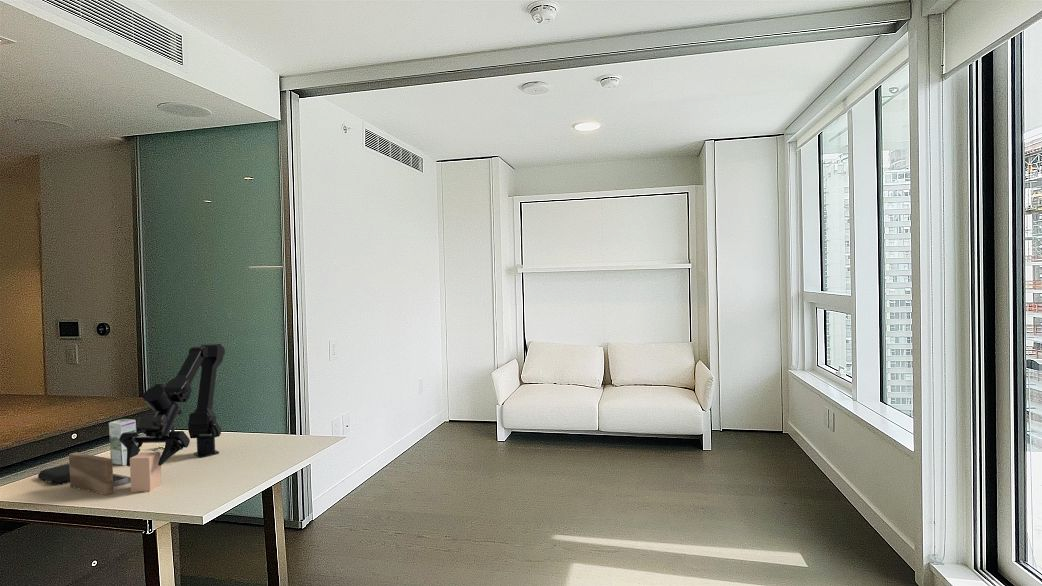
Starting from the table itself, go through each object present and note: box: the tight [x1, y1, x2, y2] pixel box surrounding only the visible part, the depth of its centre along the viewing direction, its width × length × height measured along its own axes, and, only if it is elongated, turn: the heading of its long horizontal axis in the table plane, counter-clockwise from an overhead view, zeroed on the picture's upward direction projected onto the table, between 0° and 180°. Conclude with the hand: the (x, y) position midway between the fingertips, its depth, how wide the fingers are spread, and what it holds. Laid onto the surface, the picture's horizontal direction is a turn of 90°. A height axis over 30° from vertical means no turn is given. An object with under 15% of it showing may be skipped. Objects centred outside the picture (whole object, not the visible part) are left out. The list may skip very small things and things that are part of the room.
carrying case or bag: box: [37, 463, 70, 485], centre depth 187 cm, size 11×3×15 cm
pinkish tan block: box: [129, 451, 163, 493], centre depth 176 cm, size 6×6×10 cm
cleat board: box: [68, 451, 131, 496], centre depth 179 cm, size 10×18×10 cm, turn 65°
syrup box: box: [108, 418, 137, 466], centre depth 202 cm, size 6×6×14 cm
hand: (143, 465), depth 175 cm, fingers open, 9 cm apart
